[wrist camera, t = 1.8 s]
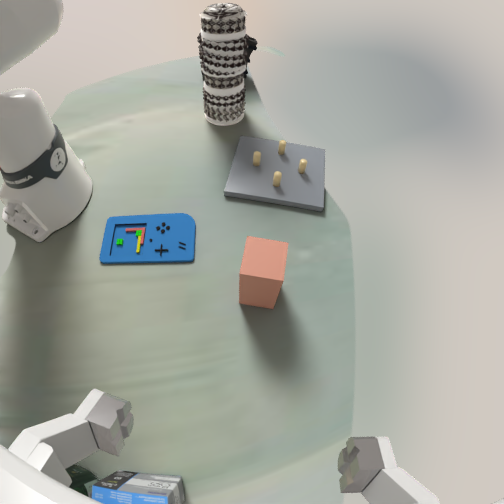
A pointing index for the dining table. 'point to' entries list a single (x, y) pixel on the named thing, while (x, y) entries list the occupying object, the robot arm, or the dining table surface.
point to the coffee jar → (81, 480)
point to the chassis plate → (277, 173)
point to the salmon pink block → (262, 272)
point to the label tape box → (138, 489)
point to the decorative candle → (223, 62)
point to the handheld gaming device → (149, 239)
